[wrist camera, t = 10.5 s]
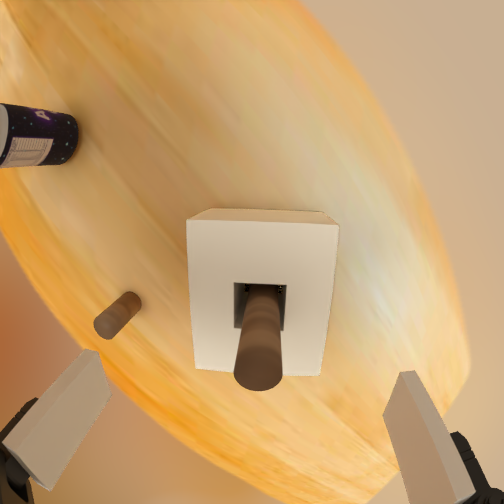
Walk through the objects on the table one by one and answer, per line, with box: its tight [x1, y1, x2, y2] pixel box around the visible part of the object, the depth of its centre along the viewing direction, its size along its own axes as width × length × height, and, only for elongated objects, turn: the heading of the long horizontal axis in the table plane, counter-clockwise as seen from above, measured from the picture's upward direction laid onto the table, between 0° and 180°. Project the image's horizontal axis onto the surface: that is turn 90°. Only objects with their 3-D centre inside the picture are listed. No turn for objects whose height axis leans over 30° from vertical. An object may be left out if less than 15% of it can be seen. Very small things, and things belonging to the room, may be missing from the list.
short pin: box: [94, 292, 141, 339], centre depth 26 cm, size 2×2×6 cm
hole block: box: [186, 208, 339, 376], centre depth 23 cm, size 12×10×7 cm
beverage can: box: [0, 103, 78, 168], centre depth 19 cm, size 6×6×12 cm
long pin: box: [234, 283, 283, 391], centre depth 20 cm, size 2×2×14 cm
